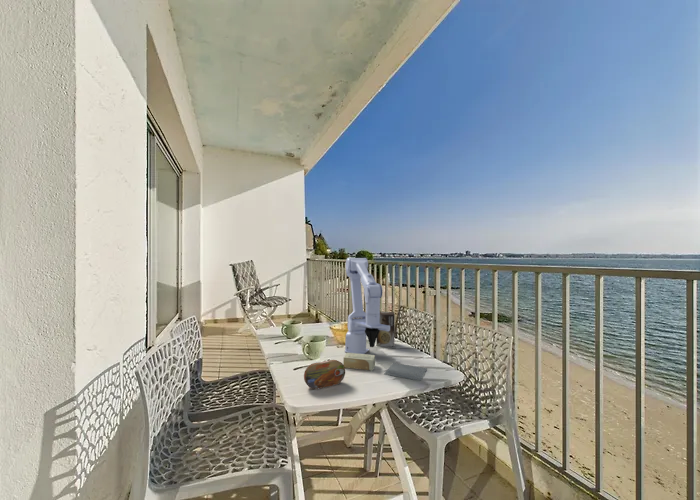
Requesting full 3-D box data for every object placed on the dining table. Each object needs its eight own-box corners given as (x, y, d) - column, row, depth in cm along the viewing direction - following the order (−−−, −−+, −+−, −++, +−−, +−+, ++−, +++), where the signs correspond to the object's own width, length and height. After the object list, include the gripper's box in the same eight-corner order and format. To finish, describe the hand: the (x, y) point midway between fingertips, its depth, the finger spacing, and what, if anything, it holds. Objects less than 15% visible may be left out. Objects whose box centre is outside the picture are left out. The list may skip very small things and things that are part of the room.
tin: (305, 391, 107) (306, 366, 107) (302, 387, 110) (303, 363, 110) (345, 383, 114) (346, 359, 114) (341, 380, 117) (342, 357, 117)
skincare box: (375, 365, 132) (346, 362, 135) (375, 354, 132) (346, 352, 134) (372, 371, 125) (342, 368, 128) (372, 360, 125) (342, 357, 128)
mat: (384, 374, 122) (384, 373, 122) (393, 363, 134) (393, 362, 134) (420, 381, 117) (420, 380, 117) (426, 368, 129) (427, 368, 129)
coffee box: (394, 343, 163) (394, 311, 163) (394, 347, 157) (395, 314, 156) (376, 342, 164) (376, 311, 164) (375, 346, 158) (376, 313, 157)
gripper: (352, 313, 130) (352, 346, 131) (386, 317, 125) (386, 351, 125) (359, 310, 137) (358, 342, 137) (391, 313, 131) (391, 346, 131)
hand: (372, 346), depth 131 cm, fingers closed
